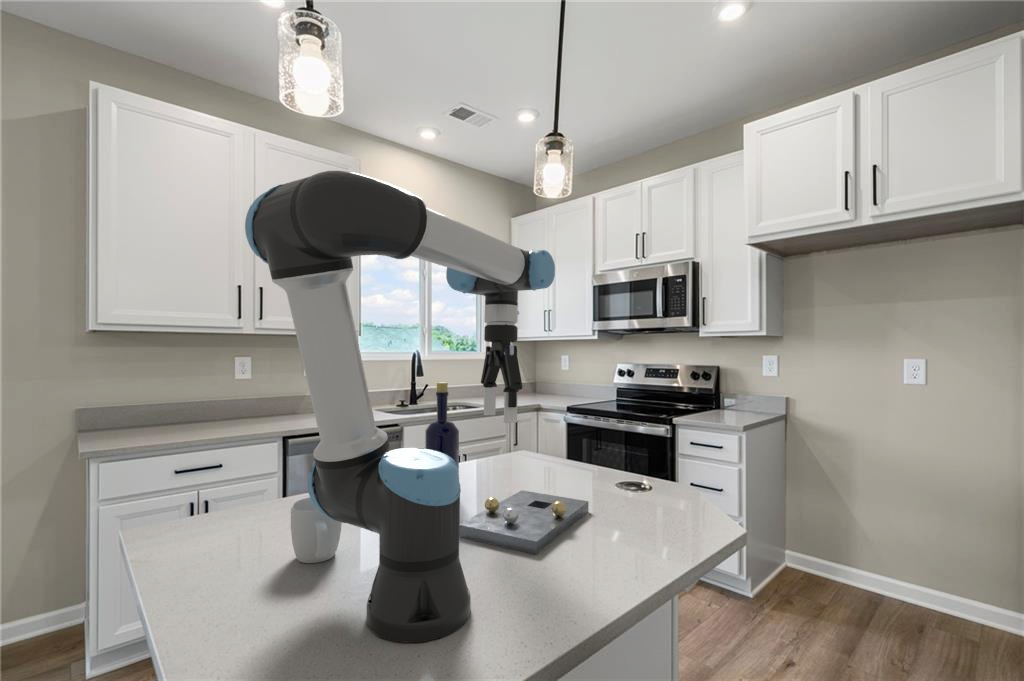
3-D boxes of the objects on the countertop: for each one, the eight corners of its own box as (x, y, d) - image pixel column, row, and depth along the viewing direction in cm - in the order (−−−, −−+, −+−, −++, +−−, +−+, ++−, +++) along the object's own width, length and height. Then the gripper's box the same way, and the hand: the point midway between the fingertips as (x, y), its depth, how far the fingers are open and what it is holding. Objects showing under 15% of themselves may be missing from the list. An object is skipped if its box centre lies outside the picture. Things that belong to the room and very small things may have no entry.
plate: (536, 554, 94) (536, 541, 94) (458, 536, 103) (458, 524, 103) (588, 511, 119) (588, 501, 119) (521, 500, 128) (521, 490, 128)
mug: (288, 552, 95) (288, 499, 95) (337, 543, 99) (337, 493, 100) (295, 580, 84) (295, 520, 84) (349, 568, 88) (350, 512, 88)
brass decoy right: (562, 519, 106) (562, 504, 106) (549, 517, 108) (549, 502, 108) (568, 515, 109) (568, 500, 109) (555, 512, 111) (555, 498, 111)
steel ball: (513, 527, 102) (513, 511, 102) (500, 524, 103) (500, 508, 103) (520, 522, 105) (521, 507, 105) (507, 519, 106) (507, 504, 106)
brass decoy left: (494, 515, 109) (494, 500, 109) (482, 513, 110) (482, 498, 110) (501, 511, 112) (501, 496, 112) (489, 508, 113) (489, 494, 113)
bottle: (462, 494, 132) (463, 381, 132) (455, 506, 123) (456, 384, 123) (428, 493, 133) (429, 381, 133) (418, 504, 124) (419, 383, 124)
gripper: (539, 322, 103) (537, 425, 102) (497, 327, 126) (496, 411, 125) (505, 321, 100) (503, 427, 99) (469, 326, 123) (467, 412, 123)
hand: (499, 418), depth 112 cm, fingers open, 13 cm apart
